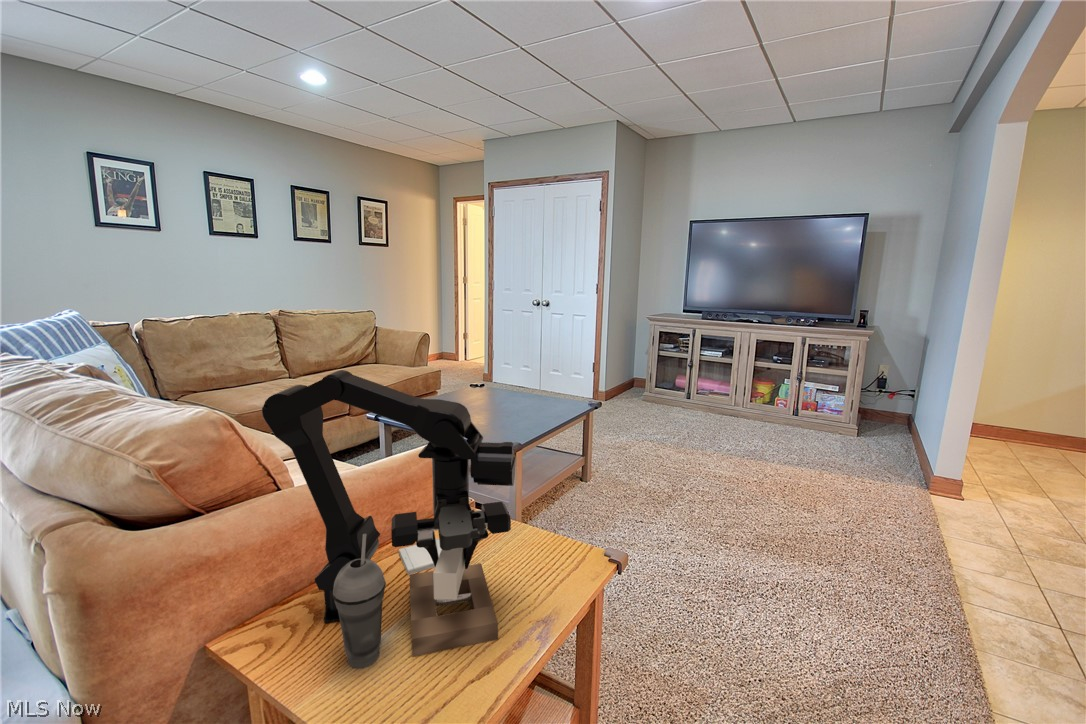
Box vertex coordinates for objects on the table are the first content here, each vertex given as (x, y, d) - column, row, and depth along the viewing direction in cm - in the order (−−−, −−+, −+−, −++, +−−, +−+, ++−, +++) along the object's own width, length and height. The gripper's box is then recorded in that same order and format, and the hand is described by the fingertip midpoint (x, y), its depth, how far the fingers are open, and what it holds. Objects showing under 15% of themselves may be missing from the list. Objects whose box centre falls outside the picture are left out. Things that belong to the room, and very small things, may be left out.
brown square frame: (412, 656, 72) (411, 639, 71) (410, 589, 87) (409, 574, 86) (497, 639, 76) (497, 622, 75) (481, 577, 91) (481, 563, 90)
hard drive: (456, 533, 104) (398, 547, 98) (469, 552, 97) (407, 569, 91) (456, 540, 104) (398, 555, 98) (469, 559, 97) (408, 577, 91)
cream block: (433, 599, 74) (433, 573, 73) (448, 554, 86) (448, 531, 85) (456, 599, 74) (456, 573, 73) (468, 554, 86) (467, 531, 85)
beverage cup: (350, 637, 75) (342, 520, 72) (395, 639, 75) (390, 522, 72) (328, 675, 68) (318, 547, 65) (378, 677, 68) (371, 549, 64)
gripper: (389, 513, 67) (393, 612, 70) (519, 498, 72) (518, 590, 75) (390, 480, 77) (394, 567, 80) (503, 469, 83) (503, 551, 85)
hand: (452, 569), depth 80 cm, fingers closed on cream block, 4 cm apart
